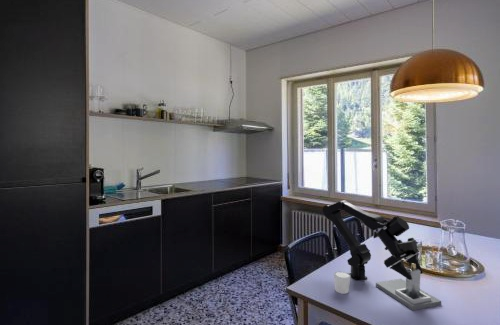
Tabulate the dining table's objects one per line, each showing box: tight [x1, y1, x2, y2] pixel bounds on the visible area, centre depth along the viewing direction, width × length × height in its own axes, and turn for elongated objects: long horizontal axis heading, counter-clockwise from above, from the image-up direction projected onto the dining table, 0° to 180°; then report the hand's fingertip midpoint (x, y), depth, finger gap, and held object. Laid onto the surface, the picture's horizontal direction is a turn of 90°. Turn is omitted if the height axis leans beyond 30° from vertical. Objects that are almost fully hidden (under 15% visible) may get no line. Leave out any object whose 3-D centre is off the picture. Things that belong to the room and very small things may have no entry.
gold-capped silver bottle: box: [405, 263, 421, 299], centre depth 115 cm, size 5×5×14 cm
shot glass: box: [333, 271, 352, 295], centre depth 123 cm, size 7×7×7 cm
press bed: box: [375, 278, 442, 311], centre depth 120 cm, size 20×14×3 cm
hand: (416, 276), depth 114 cm, fingers open, 9 cm apart
